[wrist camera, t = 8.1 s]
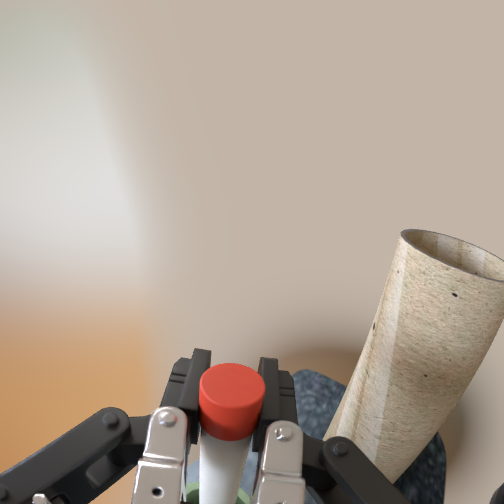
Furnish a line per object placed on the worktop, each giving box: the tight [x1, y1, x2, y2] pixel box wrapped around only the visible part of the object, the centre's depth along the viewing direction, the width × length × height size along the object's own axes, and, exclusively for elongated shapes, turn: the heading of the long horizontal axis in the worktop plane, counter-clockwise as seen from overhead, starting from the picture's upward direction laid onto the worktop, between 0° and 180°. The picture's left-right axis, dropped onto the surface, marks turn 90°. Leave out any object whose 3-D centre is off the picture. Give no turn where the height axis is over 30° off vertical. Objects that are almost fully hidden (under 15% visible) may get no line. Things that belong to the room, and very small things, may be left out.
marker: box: [199, 363, 266, 504], centre depth 13 cm, size 2×2×16 cm
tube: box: [322, 229, 504, 484], centre depth 24 cm, size 10×10×25 cm
